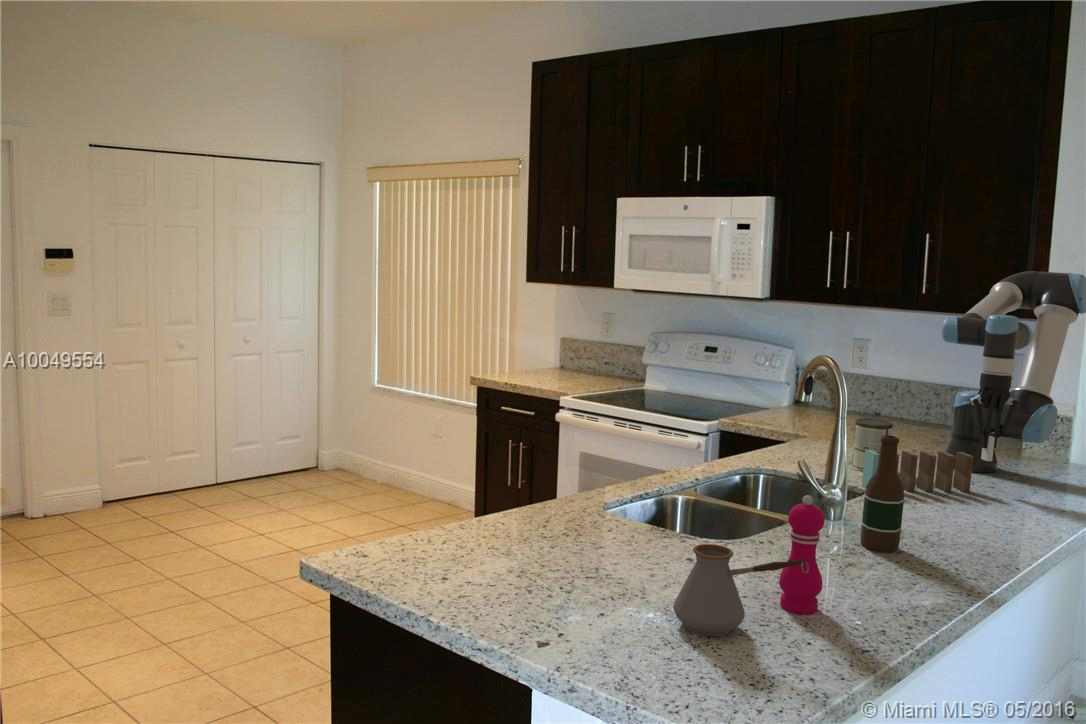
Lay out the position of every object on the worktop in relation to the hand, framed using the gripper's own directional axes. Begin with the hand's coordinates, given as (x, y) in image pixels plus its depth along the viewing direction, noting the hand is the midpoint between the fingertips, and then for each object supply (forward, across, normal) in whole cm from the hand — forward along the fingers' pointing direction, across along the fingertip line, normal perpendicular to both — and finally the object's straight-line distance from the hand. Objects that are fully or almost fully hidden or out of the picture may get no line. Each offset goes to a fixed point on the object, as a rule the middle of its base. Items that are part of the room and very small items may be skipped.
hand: (986, 459), depth 245 cm
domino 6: (+9, +6, 0) cm, 11 cm away
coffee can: (+9, +21, -22) cm, 32 cm away
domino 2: (+9, +27, 0) cm, 28 cm away
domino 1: (+9, +32, 0) cm, 33 cm away
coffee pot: (+10, +99, +90) cm, 134 cm away
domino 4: (+9, +17, 0) cm, 19 cm away
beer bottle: (+9, +53, +47) cm, 71 cm away
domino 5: (+9, +11, 0) cm, 14 cm away
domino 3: (+9, +22, 0) cm, 23 cm away
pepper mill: (+10, +84, +79) cm, 116 cm away
